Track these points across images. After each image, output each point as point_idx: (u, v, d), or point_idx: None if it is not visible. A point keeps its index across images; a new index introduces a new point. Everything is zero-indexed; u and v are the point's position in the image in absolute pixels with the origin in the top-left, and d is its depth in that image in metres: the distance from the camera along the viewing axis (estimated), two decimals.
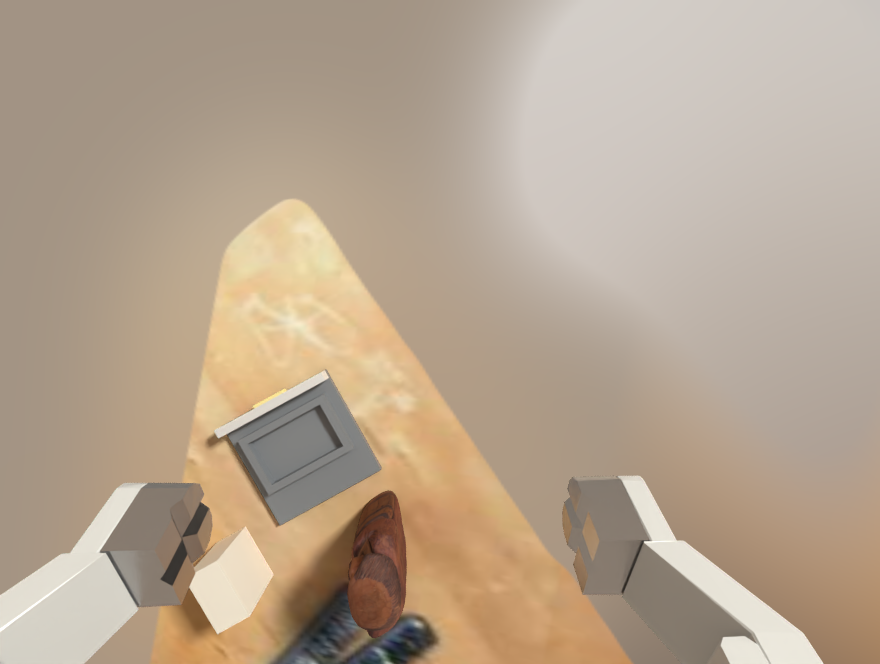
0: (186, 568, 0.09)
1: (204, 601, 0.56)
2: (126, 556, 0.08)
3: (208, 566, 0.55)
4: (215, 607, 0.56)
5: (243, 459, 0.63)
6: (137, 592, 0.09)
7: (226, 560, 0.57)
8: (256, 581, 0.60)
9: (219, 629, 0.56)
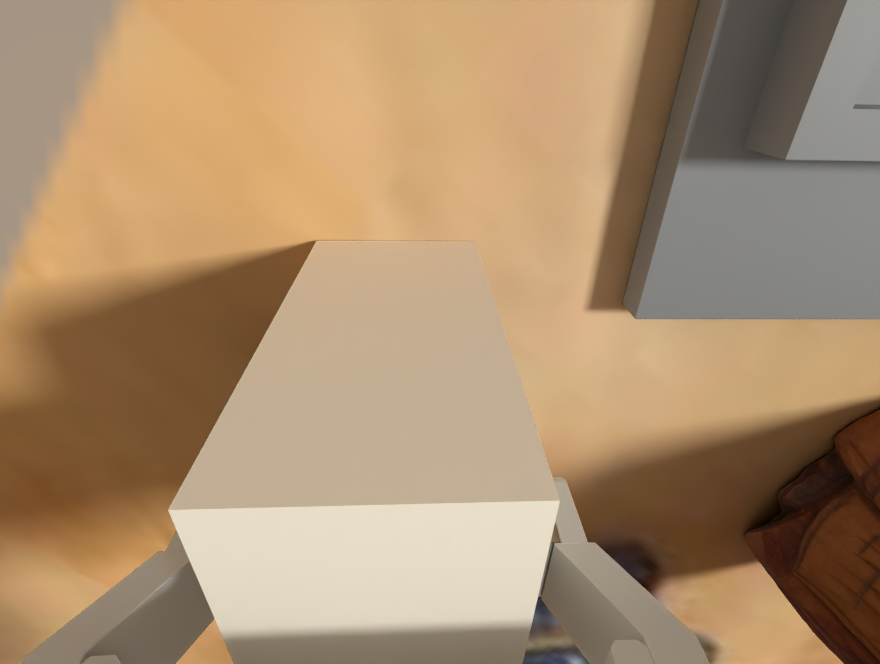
0: None
1: None
2: None
3: (455, 511, 0.05)
4: None
5: None
6: None
7: None
8: None
9: None
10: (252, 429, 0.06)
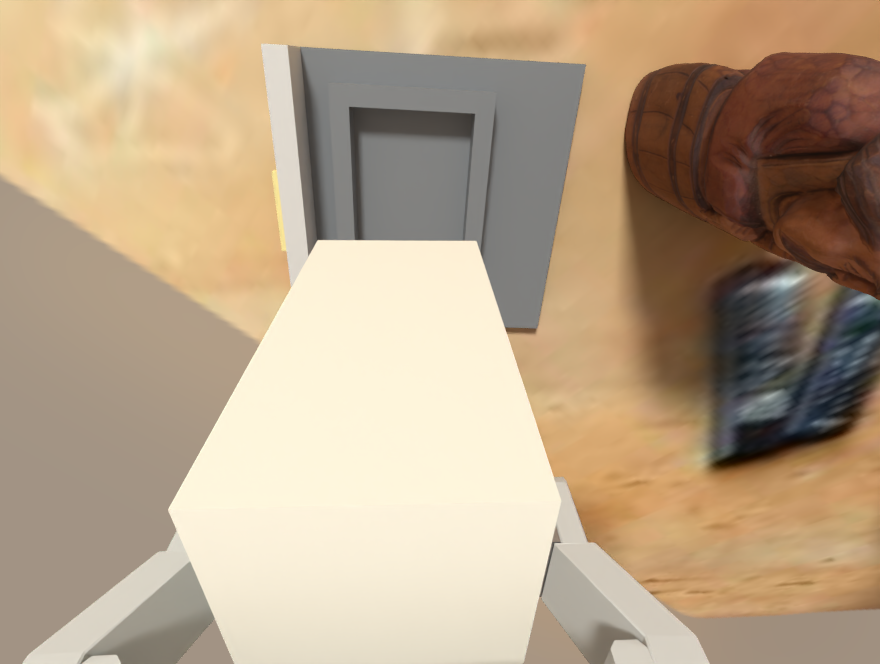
0: None
1: None
2: None
3: (456, 511, 0.05)
4: None
5: None
6: None
7: None
8: None
9: None
10: (253, 429, 0.06)
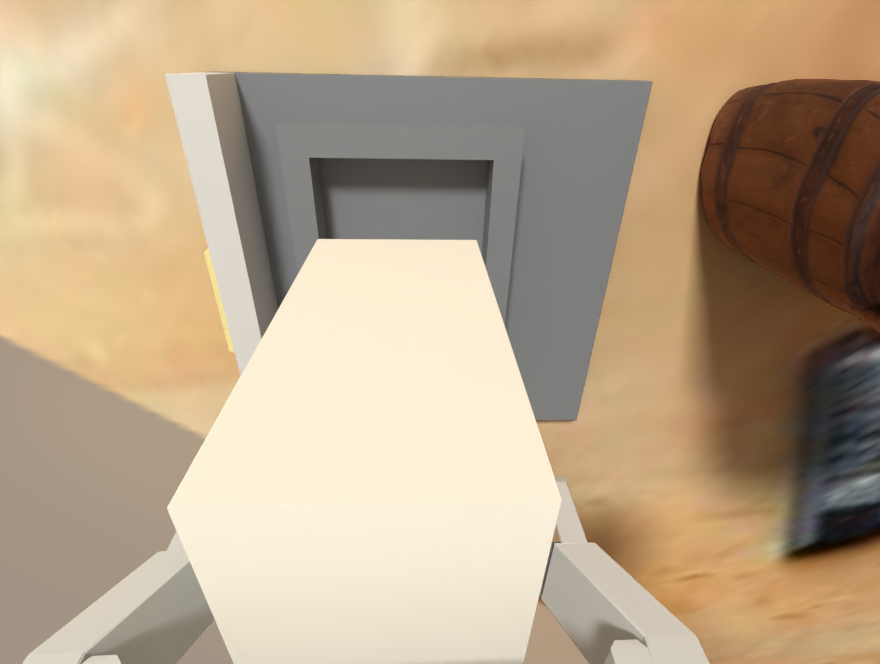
0: None
1: None
2: None
3: (456, 510, 0.05)
4: None
5: None
6: None
7: None
8: None
9: None
10: (252, 427, 0.06)
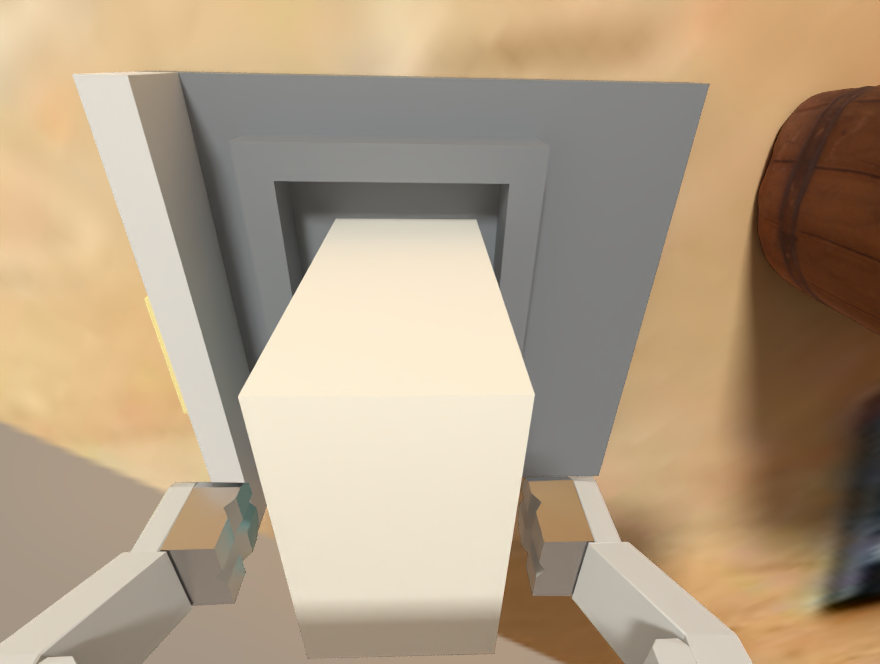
0: (238, 566, 0.09)
1: (314, 546, 0.09)
2: (185, 555, 0.08)
3: (454, 402, 0.07)
4: (360, 586, 0.09)
5: None
6: (192, 591, 0.09)
7: None
8: None
9: (327, 649, 0.11)
10: (295, 349, 0.08)
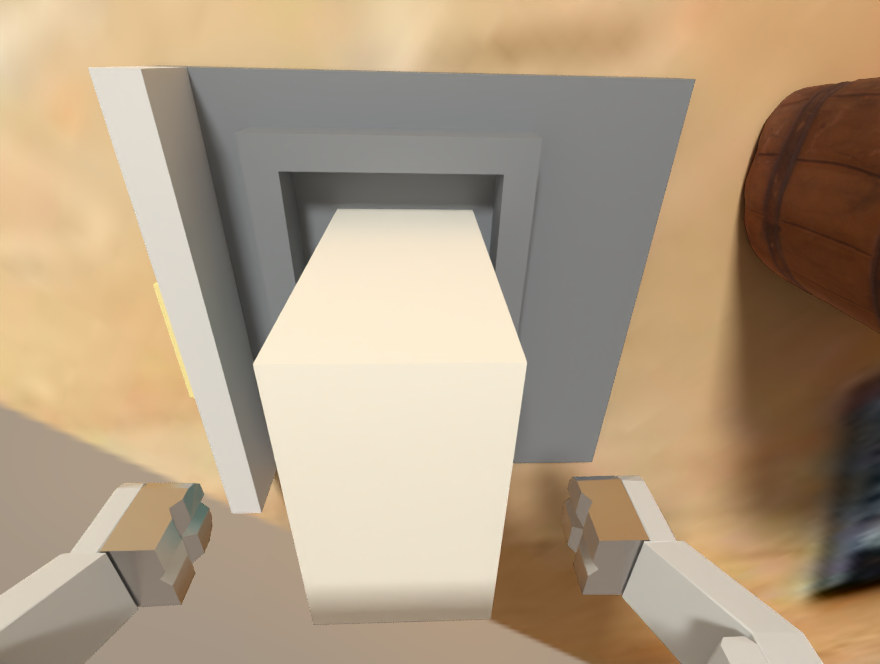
0: (186, 568, 0.09)
1: (321, 510, 0.09)
2: (126, 556, 0.08)
3: (453, 369, 0.08)
4: (364, 552, 0.10)
5: None
6: (137, 592, 0.09)
7: None
8: None
9: (331, 615, 0.11)
10: (304, 324, 0.09)
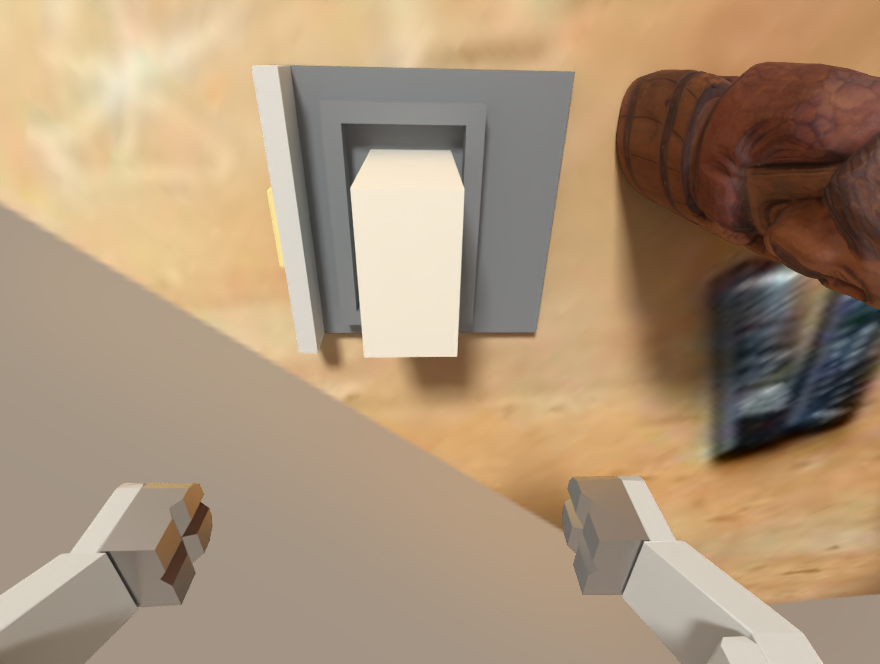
0: (186, 568, 0.09)
1: (373, 273, 0.20)
2: (126, 556, 0.08)
3: (433, 192, 0.18)
4: (392, 302, 0.21)
5: None
6: (137, 592, 0.09)
7: None
8: None
9: (374, 350, 0.22)
10: (367, 180, 0.19)
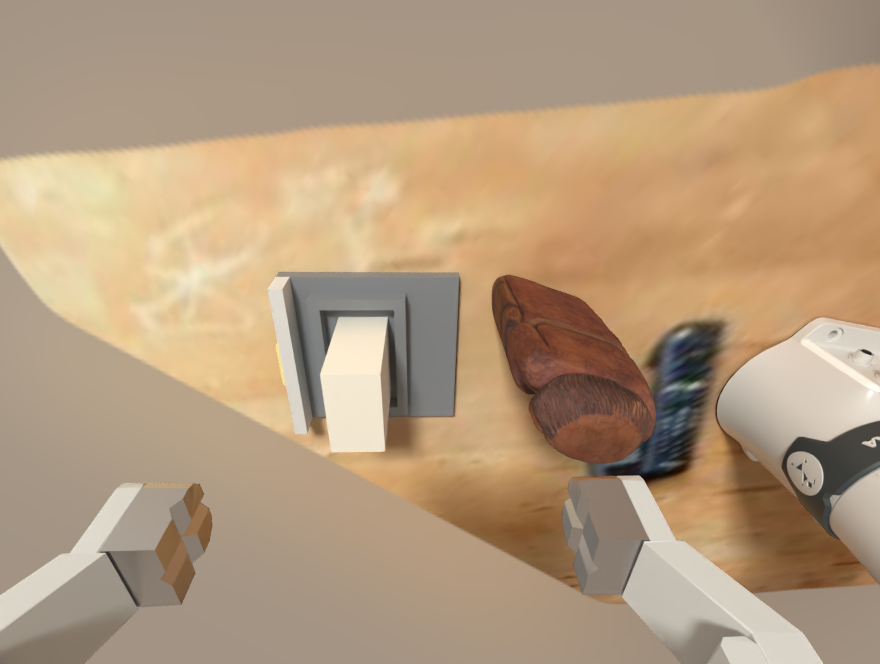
0: (187, 567, 0.09)
1: (334, 412, 0.36)
2: (126, 556, 0.08)
3: (363, 375, 0.34)
4: (345, 425, 0.37)
5: None
6: (137, 592, 0.09)
7: (382, 372, 0.36)
8: (387, 399, 0.41)
9: (336, 448, 0.38)
10: (330, 364, 0.35)
